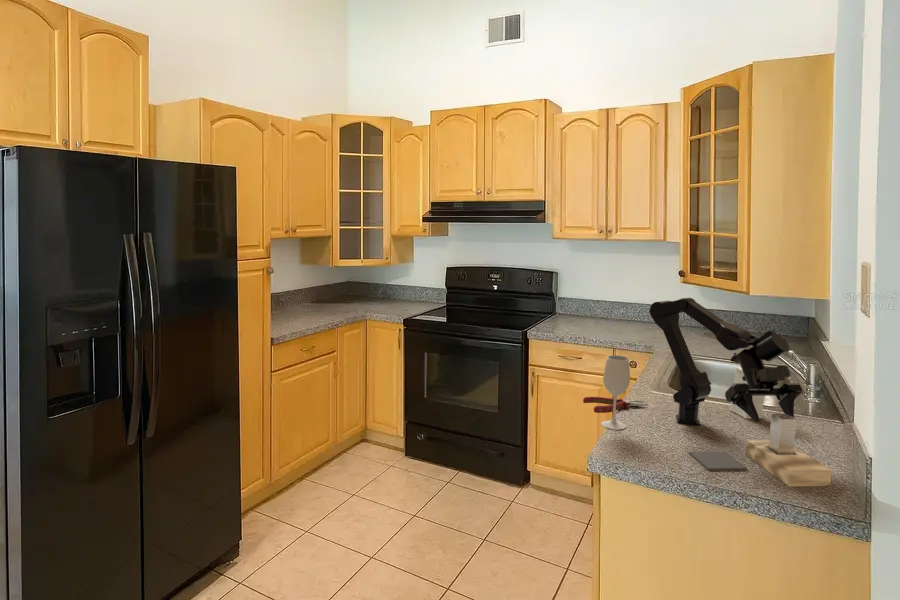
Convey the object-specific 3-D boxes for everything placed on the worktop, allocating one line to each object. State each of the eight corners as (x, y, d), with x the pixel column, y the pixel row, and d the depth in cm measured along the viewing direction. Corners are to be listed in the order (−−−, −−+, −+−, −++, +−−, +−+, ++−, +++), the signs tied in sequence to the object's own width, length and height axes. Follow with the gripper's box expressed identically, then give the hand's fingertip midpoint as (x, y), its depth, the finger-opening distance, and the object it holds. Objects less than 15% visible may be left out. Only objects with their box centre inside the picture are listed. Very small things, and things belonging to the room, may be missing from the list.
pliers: (654, 412, 185) (654, 405, 185) (595, 414, 182) (595, 406, 182) (637, 401, 196) (638, 394, 196) (581, 403, 194) (582, 395, 193)
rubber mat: (689, 453, 152) (689, 451, 152) (725, 453, 152) (725, 451, 152) (708, 470, 142) (708, 468, 142) (746, 470, 143) (747, 467, 142)
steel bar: (766, 462, 148) (771, 413, 146) (781, 461, 148) (786, 413, 146) (776, 468, 144) (781, 419, 142) (791, 468, 144) (797, 419, 142)
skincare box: (729, 410, 187) (733, 366, 185) (746, 409, 188) (750, 366, 186) (746, 419, 179) (751, 373, 177) (763, 418, 180) (768, 373, 178)
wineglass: (600, 419, 176) (604, 353, 173) (626, 422, 174) (631, 355, 171) (599, 428, 169) (604, 359, 166) (626, 431, 167) (631, 361, 164)
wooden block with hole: (745, 454, 152) (747, 440, 151) (781, 454, 153) (783, 440, 152) (789, 486, 134) (791, 470, 134) (829, 486, 135) (831, 470, 134)
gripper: (734, 354, 150) (755, 408, 141) (802, 354, 151) (827, 407, 142) (716, 375, 159) (735, 427, 150) (780, 374, 160) (803, 426, 151)
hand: (775, 421), depth 148 cm, fingers open, 9 cm apart
